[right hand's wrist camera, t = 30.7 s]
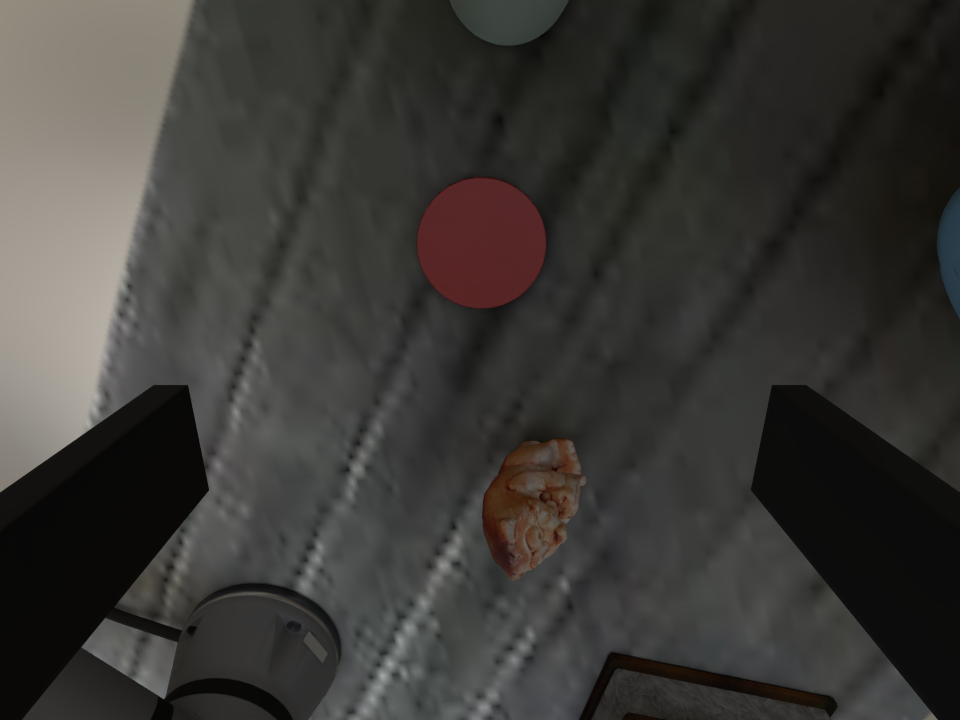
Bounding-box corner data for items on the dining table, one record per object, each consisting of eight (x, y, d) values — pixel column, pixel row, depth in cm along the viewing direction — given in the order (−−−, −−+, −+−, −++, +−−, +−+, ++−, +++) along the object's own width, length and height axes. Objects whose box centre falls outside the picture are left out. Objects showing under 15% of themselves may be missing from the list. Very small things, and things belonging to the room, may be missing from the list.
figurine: (578, 462, 47) (620, 591, 33) (493, 482, 48) (499, 617, 34) (562, 400, 45) (600, 509, 31) (474, 422, 46) (472, 539, 32)
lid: (393, 225, 40) (389, 228, 39) (499, 148, 39) (500, 148, 37) (465, 325, 43) (465, 332, 41) (568, 258, 41) (571, 262, 40)
